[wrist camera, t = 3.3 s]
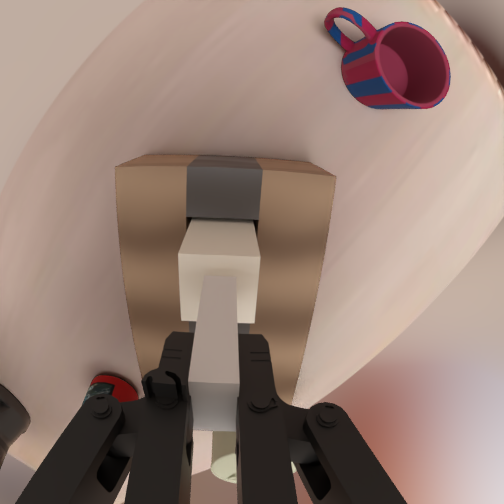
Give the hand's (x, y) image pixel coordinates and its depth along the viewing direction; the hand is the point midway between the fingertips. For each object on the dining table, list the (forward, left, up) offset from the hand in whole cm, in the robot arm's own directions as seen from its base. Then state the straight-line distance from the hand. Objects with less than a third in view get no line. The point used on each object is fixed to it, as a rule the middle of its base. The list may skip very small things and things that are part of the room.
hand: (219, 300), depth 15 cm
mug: (+11, +15, -13) cm, 23 cm away
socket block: (0, -6, -13) cm, 14 cm away
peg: (0, 0, -8) cm, 8 cm away
